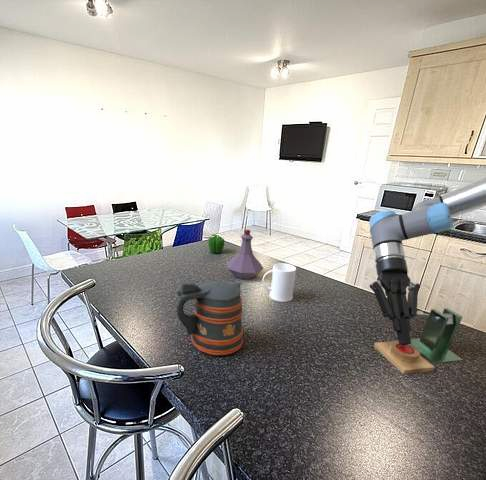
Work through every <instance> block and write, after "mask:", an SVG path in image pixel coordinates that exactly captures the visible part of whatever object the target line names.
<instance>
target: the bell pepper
mask: <svg viewBox="0 0 486 480" xmlns="http://www.w3.org/2000/svg"><path fill="white" fill-rule="evenodd" d="M211 236H212V237H209V238H208V241H207V243H208V248H209V252H210V253H211V254H222V252H223V251H224V247H225V239H224V238H223V237H222V236H218V235H217V234H215V233H212V234H211Z"/></svg>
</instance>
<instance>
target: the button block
mask: <svg viewBox="0 0 486 480" xmlns="http://www.w3.org/2000/svg"><path fill="white" fill-rule="evenodd" d="M398 345H399V341H398V340H391V341H379V342H378V341H377V342H374V344H373V347H374V348H375V349H376V350H377V351H378V352H379V353H380V354H381V355H382V356H383V357H384V358H385V359H386V360H388V361H389V362H390V363H391V365H393V366H394V367H395V368H396V369H397V370H398V371H399V372H401V374H402V375H408V374H417V373H427V372H434V370H435V368H436V366H435V365H433V363H432V362H430V361H429V360H428V359H427V358H425V357H424V356H423V355H422V354H421V353H420V352H419V350H418V349H417V348H416V347H415V346H413V345H411V344H408V345H406V346H408V347H410V348H411V349H412V350H413V354H407V353H404V352H401V351H400V350H398V349H397V346H398Z"/></svg>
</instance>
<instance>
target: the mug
mask: <svg viewBox="0 0 486 480" xmlns="http://www.w3.org/2000/svg"><path fill="white" fill-rule="evenodd" d="M296 273H297V267H296V266H294V265H293V264H291V263H284V262H280V263H275V264H273V266H272V269H271V270H268V271H266V272H265V273H264V274H263V277H262V281H261V282H262V285H263V287H264V288H265V289H266V290H268V291H269V294H268V296H269V298H270V299H271V300H273V301H276V302H279V303H289V302H291V301H292V300H293V299H294V298H293V293H294V286H295V281H296V280H295V279H296ZM269 274H272V275H271V283H270V286H267V285H266V284H265V278H266V277H267V275H269Z"/></svg>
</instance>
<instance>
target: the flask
mask: <svg viewBox="0 0 486 480" xmlns="http://www.w3.org/2000/svg"><path fill="white" fill-rule="evenodd" d="M243 231H244V234H242V235H241V236H240V238H241V244H240V248H239V250H238V252H237V253H236V254H235V255H234V256H233V257H232V258H231V259H229V260H228V261H226V267H227V270H228V271H229V272H230V273H231V274H232V275H233V277H234V278H237V277H238V278H237V279H240V280H251V279H253V278H255V277H256V276H257V275H259V273H261V272H262V271H263V270H265V269H264V267H263V265H262V263H261V262H260V261H259V260H258V259H257V257H255V255H254V253H253V247H252V241H253V238H254V237H253V236H252V235H251V230H250V229H244V230H243ZM254 276H255V277H254Z"/></svg>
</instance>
